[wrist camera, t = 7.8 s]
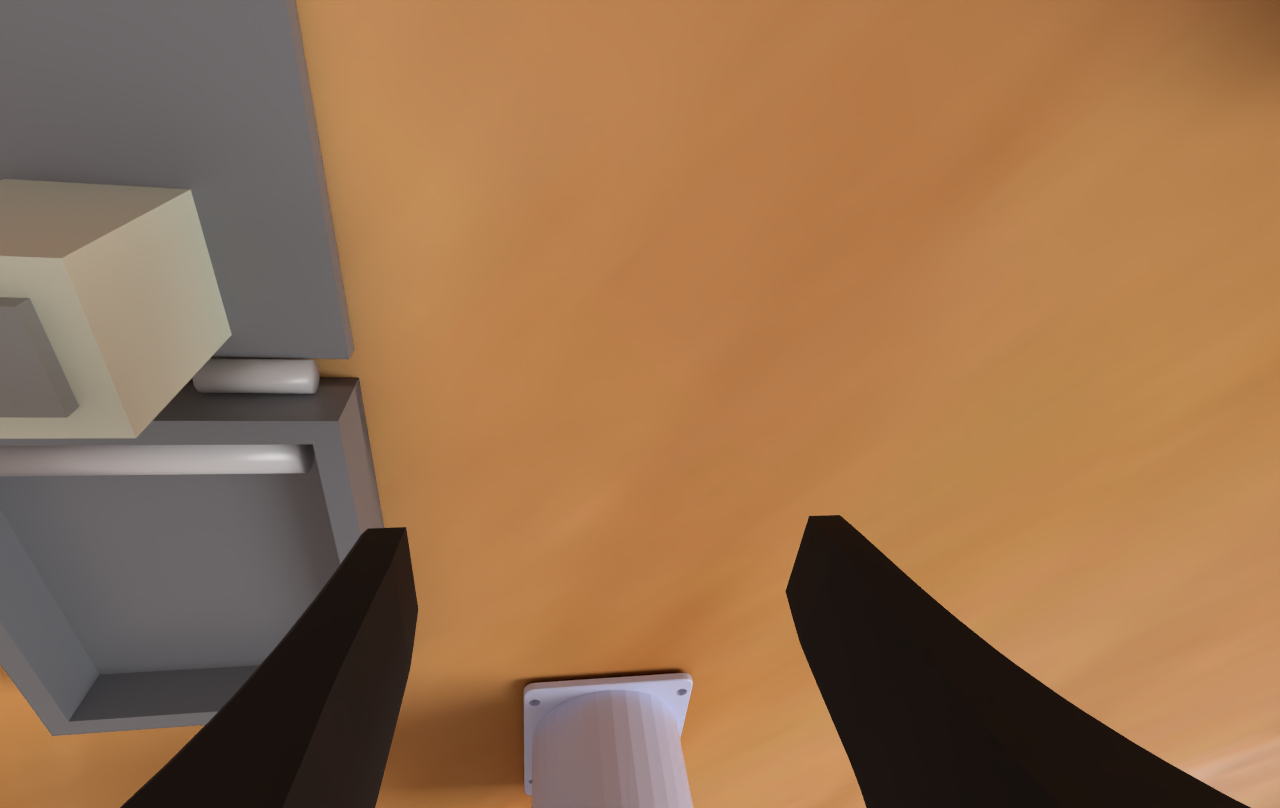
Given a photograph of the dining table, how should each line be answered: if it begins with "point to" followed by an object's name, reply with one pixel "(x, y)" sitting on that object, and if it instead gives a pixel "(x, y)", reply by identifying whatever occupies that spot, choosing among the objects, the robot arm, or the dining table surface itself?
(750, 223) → the dining table surface
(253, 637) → the case
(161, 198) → the block
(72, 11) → the lid panel
